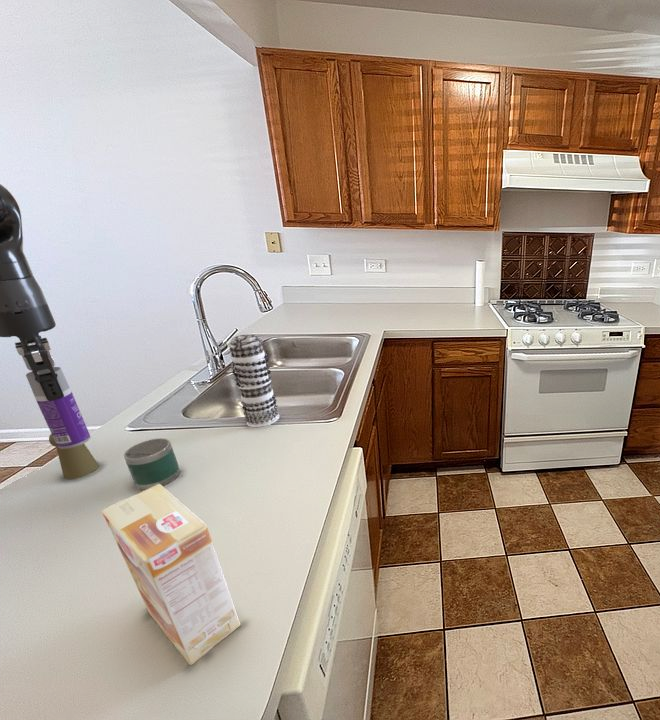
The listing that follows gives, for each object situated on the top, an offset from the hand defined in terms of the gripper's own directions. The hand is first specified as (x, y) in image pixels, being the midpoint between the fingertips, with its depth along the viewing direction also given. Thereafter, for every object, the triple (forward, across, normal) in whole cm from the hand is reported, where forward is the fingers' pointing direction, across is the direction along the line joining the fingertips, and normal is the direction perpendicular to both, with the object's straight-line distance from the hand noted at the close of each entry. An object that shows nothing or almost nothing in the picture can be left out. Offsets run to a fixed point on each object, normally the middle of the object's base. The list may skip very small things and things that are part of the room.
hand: (54, 394), depth 73 cm
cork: (+25, -17, -1) cm, 30 cm away
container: (+11, 0, 0) cm, 11 cm away
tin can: (+25, 0, +10) cm, 27 cm away
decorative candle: (+25, -9, +36) cm, 45 cm away
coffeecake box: (+25, +44, +4) cm, 50 cm away
